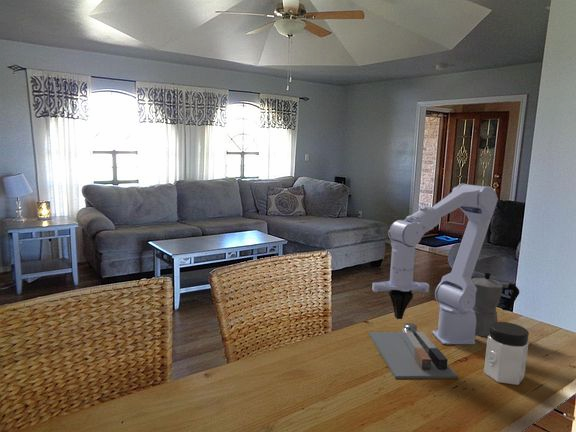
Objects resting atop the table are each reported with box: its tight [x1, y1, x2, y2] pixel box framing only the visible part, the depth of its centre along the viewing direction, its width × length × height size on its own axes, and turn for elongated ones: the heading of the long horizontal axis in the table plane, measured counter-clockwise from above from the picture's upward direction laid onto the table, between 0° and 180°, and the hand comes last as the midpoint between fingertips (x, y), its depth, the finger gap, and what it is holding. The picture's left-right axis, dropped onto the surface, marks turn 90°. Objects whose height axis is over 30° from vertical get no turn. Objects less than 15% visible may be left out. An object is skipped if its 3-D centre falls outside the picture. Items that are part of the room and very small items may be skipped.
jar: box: [483, 321, 530, 386], centre depth 103 cm, size 9×8×12 cm
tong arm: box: [401, 322, 431, 369], centre depth 113 cm, size 20×4×3 cm, turn 0°
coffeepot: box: [471, 272, 520, 338], centre depth 127 cm, size 15×9×18 cm, turn 70°
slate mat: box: [368, 331, 458, 379], centre depth 113 cm, size 24×15×1 cm, turn 4°
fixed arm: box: [415, 330, 448, 369], centre depth 111 cm, size 16×2×2 cm, turn 4°
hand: (398, 317), depth 113 cm, fingers closed
